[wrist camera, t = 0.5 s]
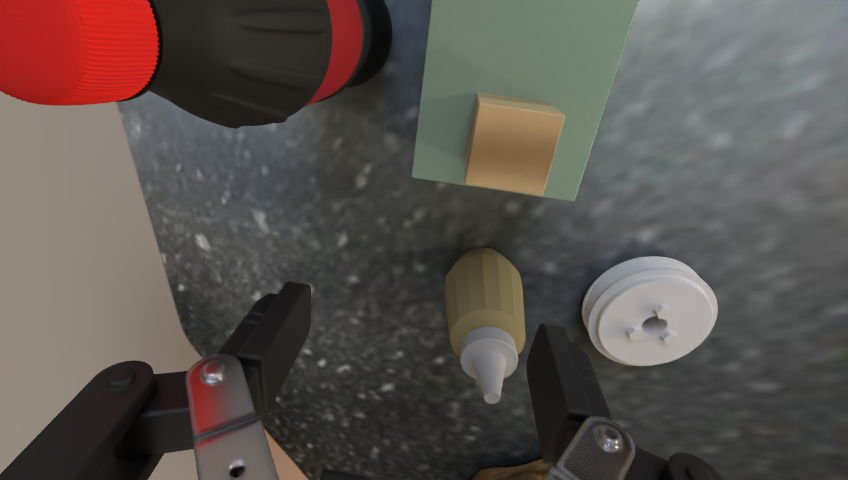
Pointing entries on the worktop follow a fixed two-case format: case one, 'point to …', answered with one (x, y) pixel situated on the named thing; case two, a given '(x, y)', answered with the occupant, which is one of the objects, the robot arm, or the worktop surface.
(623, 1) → the cabinet
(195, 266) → the worktop surface
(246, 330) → the robot arm
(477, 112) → the block
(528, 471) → the rough brown rock
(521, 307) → the squeeze bottle
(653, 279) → the white pulley wheel
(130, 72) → the cola bottle
